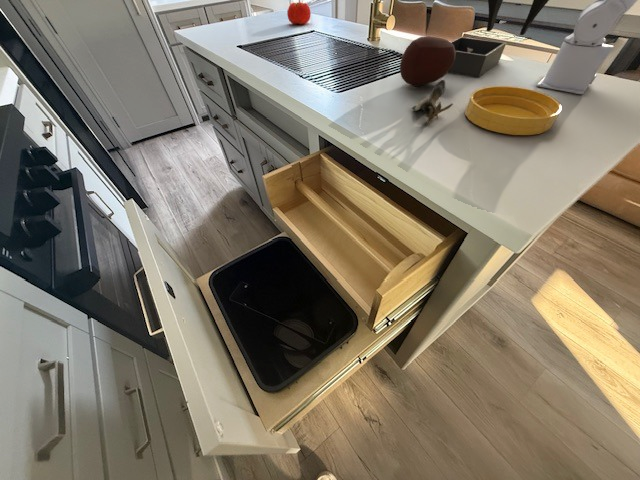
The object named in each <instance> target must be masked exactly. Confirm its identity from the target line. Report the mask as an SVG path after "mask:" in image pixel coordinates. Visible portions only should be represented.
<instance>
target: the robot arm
mask: <svg viewBox="0 0 640 480" xmlns="http://www.w3.org/2000/svg"><path fill="white" fill-rule="evenodd" d="M549 1H550V0H532V4H531V5H530V9H529V12H528V14H527V17H526V19H525V21H524V23H523V26H522V27H521V30H520V32H519V36H524V35H525V34H526V33H527V31H528V29H529V27H530V26H531V24H532V23H533V21H534V20H535V18H536V17H537V16H538V14H539V13H540V12H541V11H542V10H543V8H544V7H545V6H546V4H548V2H549ZM637 1H638V0H595V1H593V2H591V3H590V4H588V5H587V6H585V8H584V9H583V10H582V11H581V12H580V13H579V15H578V18H577V19H576V24H575V25H574V28H573V32H572V33H571V34H570V35H567V36H565V38H564V40H563V42H562V44H561V46H560V48H559V49H558V52H557V53H556V55H555V57H554V59H553V60H552V63H551V64H550V67H549V69H548V70H547V72H546V75H544V77H543V78H542V79H540V81H539V82H538V83H537V84H536V86H537V87H541V88H545V89H551V90H555V91H561V92H566V93H571V94H576V95H583V94H584V93H585V91H586V90H587V88H588V87H589V86H590V85H592V84H593V82H594V81H595V79H596V78H597V73H598V72H599V70H600V69H601V67H602V65H603V64H604V63H605V61H606V59H607V58H608V56H609V55H610V53H611V51H612V50H613V48H615V46H614V45H612V44H606V41H607V39H606V38H605V37H606V36H608V35H609V34H610V33H611V32H612V31H613V29H614V28H615V27H616V24H617V23H618V21H619V20H620V19H621V17H622V16H624V15H625V14H626V13H627V12H628V11H629V10H631V8H632V7H633V6H634V5H635V4H636V3H637ZM503 2H504V0H487V3H488V18H487V27H486V32H491V31H493V28H494V26H495V24H496V20H497V17H498V14H499V12H500V9H501V6H502V4H503Z"/></svg>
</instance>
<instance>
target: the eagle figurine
mask: <svg viewBox="0 0 640 480" xmlns="http://www.w3.org/2000/svg"><path fill="white" fill-rule="evenodd" d="M445 85H446V81H445V79H440V80H439V81H438V82H437V83H436V84H435V85H434V87H433V88H432V90H431V92H430V95H429V97H426V98H424V99H422V100H421V101H419V102H418V103H417V104H415V105H414V106H412V107H411V109H412V110H413V111H419V110H423V111H424V116H425V117H427V118H428V119H426V120H427V121H426V126H429V124H430V123H431V122H432V121H433V120H434V118H435V117H436V118H437V119H439V114H441V113H442V112H445V111H447V110H449V109H450V108H451V107H452V106H453V105H454V103H450V104H449V105H447V106H445V107H442V102H441V101H439V99H440V98H441V97H442V96H443V94H444V91H445V88H446V86H445ZM438 101H439V102H438ZM437 102H438V104H437Z"/></svg>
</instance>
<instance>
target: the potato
mask: <svg viewBox="0 0 640 480" xmlns="http://www.w3.org/2000/svg"><path fill="white" fill-rule="evenodd" d="M455 55H456V50H455V47H454V45H453V44H452V43H451V41H450V40H448V39H445V38H442V37H437V36H430V35H429V36H428V35H427V36H420V37H418V38H416V39H414V40H412V41H411V42H410V44H409V45H408V46H407V47H405V50H404V52H403V54H402V56H401V60H400V64H399V72H400V76H401V79H402V80H403V81H404V82H405V83H406V84H408V85H411V86H413V87H421V86H426V85H429V84H432V83H435V82H438V81H440V80H441V79H442V78H443V77H444V76H446V75H447V74H448V73H449V72H448V71H449V70H450V68H451V67H452V65H453V62H454V60H455Z"/></svg>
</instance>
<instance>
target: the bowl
mask: <svg viewBox="0 0 640 480" xmlns="http://www.w3.org/2000/svg"><path fill="white" fill-rule="evenodd" d="M562 110H563V107H562V103H561V102H559V100H557V99H556V98H554V97H552V96H550V95H548V94H546V93H543V92H541V91H537V90H534V89H530V88H526V87H520V86H519V87H518V86H510V85H509V86H508V85H493V86H486V87H485V86H484V87H481V88H477V89H476V90H474V91H473V92H472V93H470V95H469V99H468V102H467V105H466V107H465V110H464V114H465V116H466V118H467V119H468V120H469V121H471V123H473V124H474V125H476V126H478V127H480V128H483V129H484V130H488V131H491V132H494V133H495V132H496V133H499V134H505V135H513V136H532V135H539V134H543V133H545V132H547V131H550V129H551V128H552V127H553V125H554V124H555V121H556V120H557V118H558V117H559V115H560V114H561V112H562Z"/></svg>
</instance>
